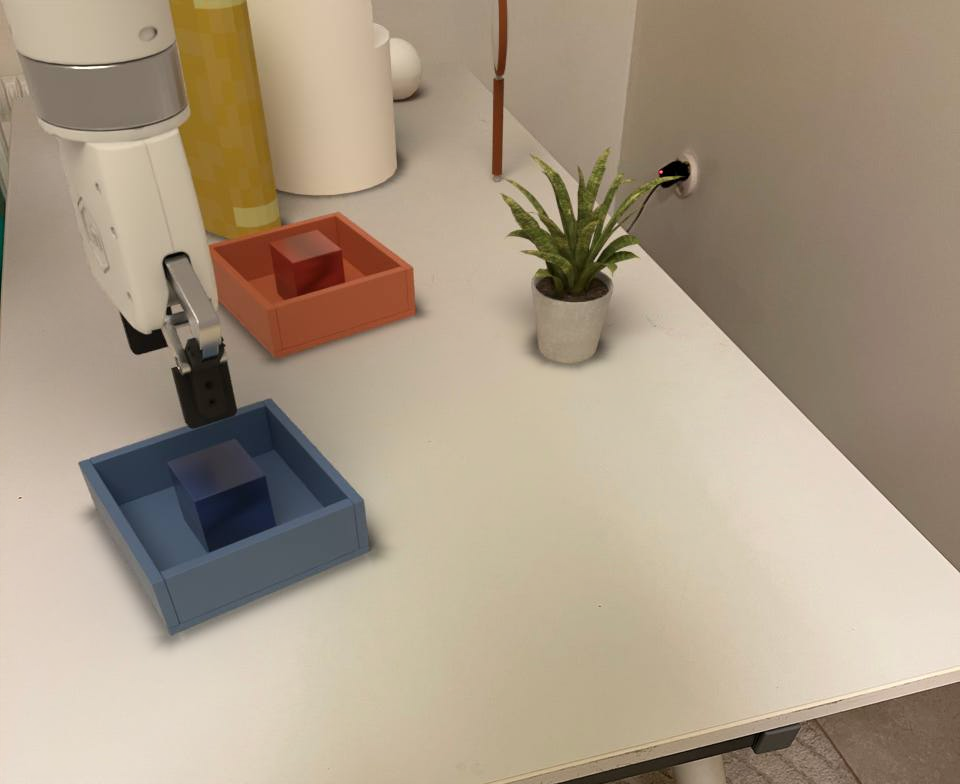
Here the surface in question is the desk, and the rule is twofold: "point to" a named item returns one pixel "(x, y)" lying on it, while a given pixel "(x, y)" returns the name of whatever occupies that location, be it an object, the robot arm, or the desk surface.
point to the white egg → (404, 68)
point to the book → (225, 118)
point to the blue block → (222, 495)
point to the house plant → (575, 261)
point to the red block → (306, 264)
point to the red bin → (321, 314)
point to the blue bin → (244, 564)
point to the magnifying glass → (498, 79)
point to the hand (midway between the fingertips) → (182, 382)
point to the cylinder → (325, 94)
